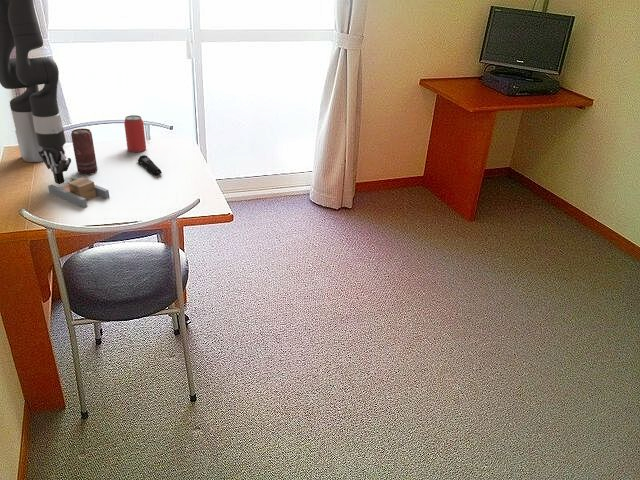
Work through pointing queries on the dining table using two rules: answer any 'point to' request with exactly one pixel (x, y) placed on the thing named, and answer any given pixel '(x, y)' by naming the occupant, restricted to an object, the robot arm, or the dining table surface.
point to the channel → (74, 198)
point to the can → (84, 151)
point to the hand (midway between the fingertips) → (60, 183)
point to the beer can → (135, 133)
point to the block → (83, 188)
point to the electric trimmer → (149, 165)
